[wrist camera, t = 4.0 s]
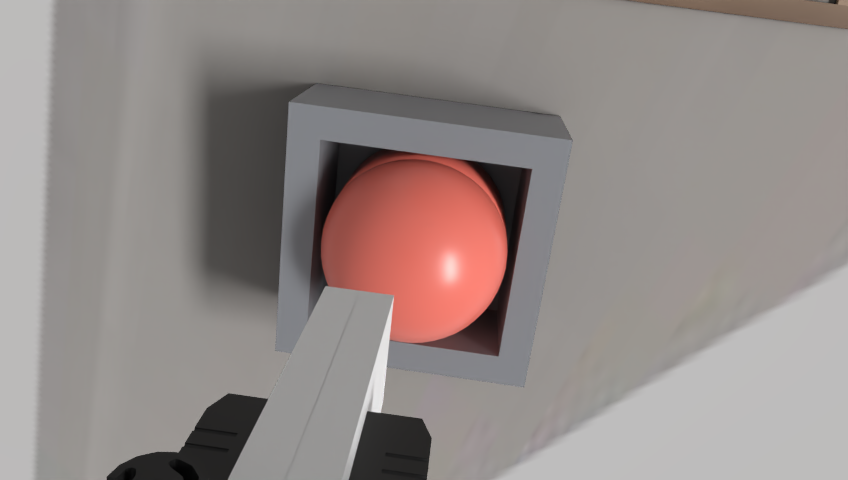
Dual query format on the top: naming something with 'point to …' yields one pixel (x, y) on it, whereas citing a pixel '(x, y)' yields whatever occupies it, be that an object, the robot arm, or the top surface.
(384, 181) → the coral red ball
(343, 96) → the housing
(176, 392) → the top surface
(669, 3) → the brown wooden flat frame
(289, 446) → the robot arm
